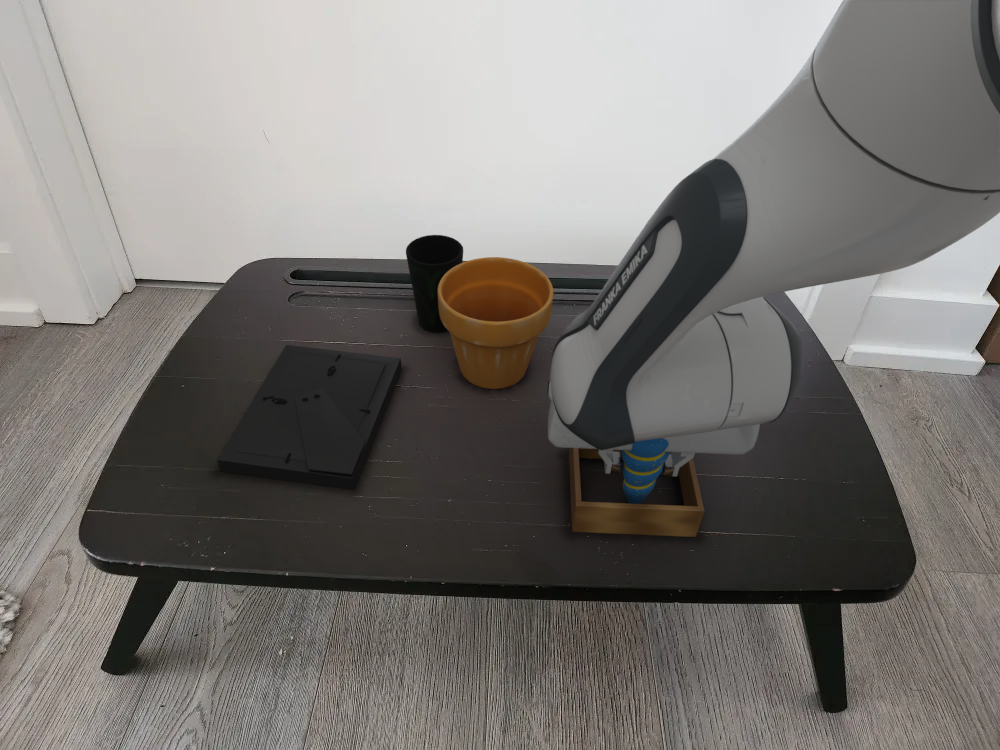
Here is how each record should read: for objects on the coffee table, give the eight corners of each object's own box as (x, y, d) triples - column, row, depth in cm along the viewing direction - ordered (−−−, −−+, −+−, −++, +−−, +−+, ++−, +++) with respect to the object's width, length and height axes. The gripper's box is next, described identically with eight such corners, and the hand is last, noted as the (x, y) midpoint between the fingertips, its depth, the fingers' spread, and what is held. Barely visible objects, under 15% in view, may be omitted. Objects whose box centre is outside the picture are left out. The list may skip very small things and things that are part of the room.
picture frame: (354, 490, 81) (401, 370, 96) (351, 473, 79) (400, 353, 94) (221, 471, 82) (288, 356, 98) (215, 455, 81) (285, 340, 96)
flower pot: (549, 339, 102) (555, 260, 93) (543, 408, 91) (550, 327, 83) (449, 331, 103) (447, 252, 94) (433, 399, 92) (428, 318, 83)
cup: (443, 299, 108) (441, 228, 100) (475, 323, 104) (474, 251, 96) (401, 318, 105) (394, 246, 97) (431, 344, 100) (427, 271, 92)
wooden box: (680, 458, 85) (687, 432, 82) (695, 537, 77) (704, 511, 74) (568, 453, 86) (571, 427, 83) (572, 532, 77) (576, 505, 74)
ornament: (654, 529, 78) (680, 432, 68) (606, 522, 78) (625, 424, 68) (655, 492, 81) (680, 395, 71) (609, 485, 82) (627, 388, 72)
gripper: (549, 389, 64) (541, 489, 74) (780, 398, 64) (743, 498, 73) (548, 345, 69) (541, 444, 78) (763, 353, 69) (730, 452, 78)
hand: (640, 470), depth 76 cm, fingers closed on ornament, 4 cm apart
